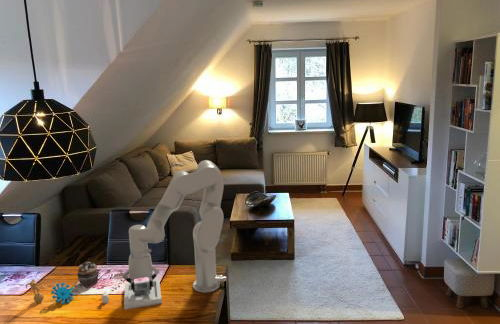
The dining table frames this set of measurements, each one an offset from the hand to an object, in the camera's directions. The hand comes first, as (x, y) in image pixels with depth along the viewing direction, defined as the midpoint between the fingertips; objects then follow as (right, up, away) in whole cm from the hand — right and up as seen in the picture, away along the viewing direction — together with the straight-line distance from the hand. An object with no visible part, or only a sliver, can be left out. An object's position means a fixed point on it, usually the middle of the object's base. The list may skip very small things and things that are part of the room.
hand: (142, 289), depth 180 cm
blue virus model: (-34, -5, -1) cm, 35 cm away
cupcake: (-29, -1, +13) cm, 32 cm away
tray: (0, -3, +1) cm, 3 cm away
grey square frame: (0, -1, 0) cm, 1 cm away
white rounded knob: (-15, -4, -3) cm, 16 cm away
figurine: (-45, -5, -3) cm, 46 cm away
